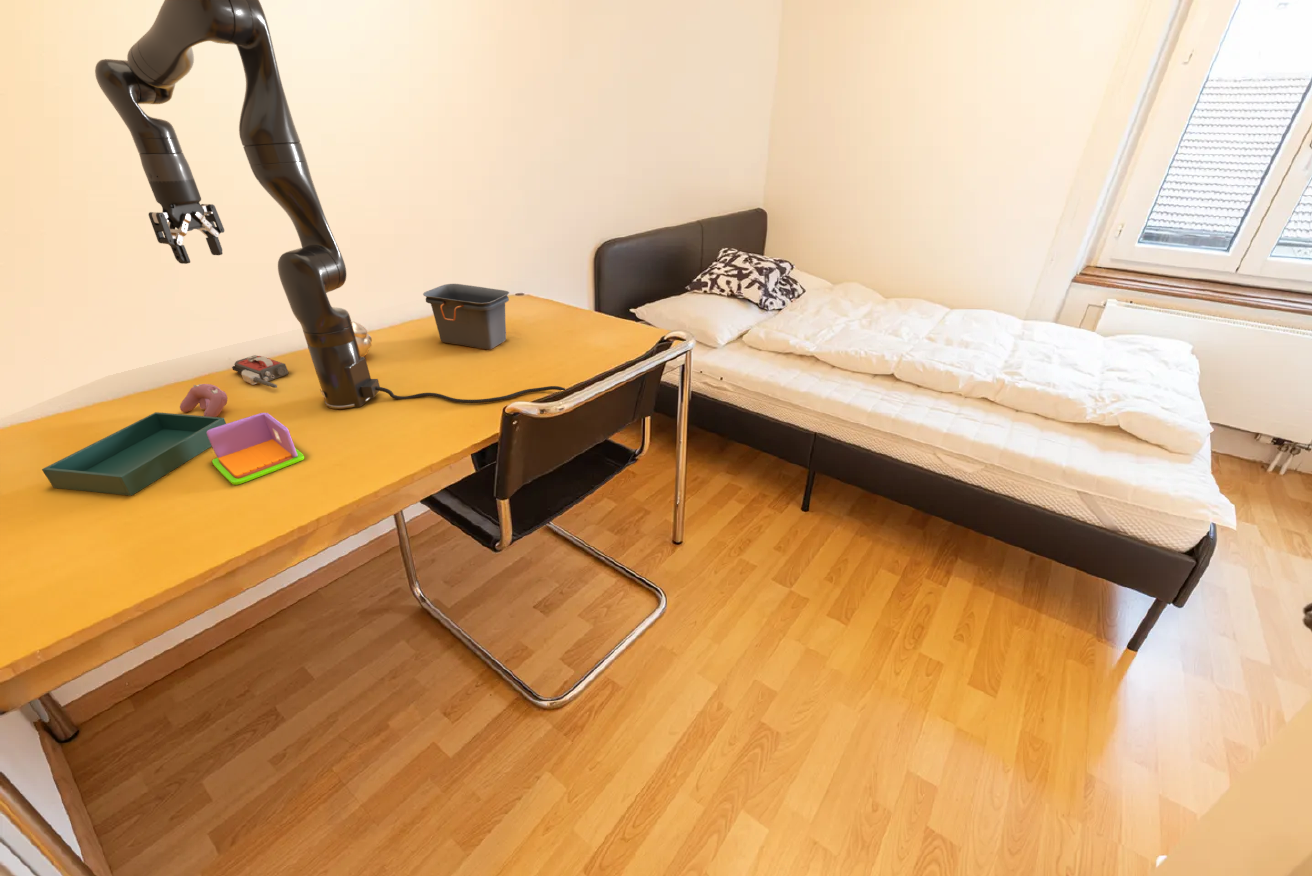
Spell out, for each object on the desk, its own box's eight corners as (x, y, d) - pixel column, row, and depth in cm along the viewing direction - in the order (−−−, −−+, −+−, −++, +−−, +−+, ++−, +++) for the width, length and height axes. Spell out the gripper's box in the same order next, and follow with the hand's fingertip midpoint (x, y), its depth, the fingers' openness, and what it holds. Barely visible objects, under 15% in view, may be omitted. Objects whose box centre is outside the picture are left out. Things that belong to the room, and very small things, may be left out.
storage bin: (519, 339, 162) (514, 289, 154) (489, 358, 149) (481, 305, 142) (457, 330, 167) (449, 282, 160) (423, 347, 155) (412, 296, 148)
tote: (231, 434, 112) (223, 417, 110) (131, 495, 94) (121, 477, 92) (163, 428, 114) (155, 412, 112) (53, 487, 96) (41, 469, 94)
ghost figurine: (358, 367, 142) (347, 329, 137) (328, 362, 145) (317, 325, 140) (383, 355, 150) (374, 319, 145) (355, 350, 152) (345, 314, 147)
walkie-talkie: (224, 375, 137) (273, 393, 129) (217, 359, 135) (266, 376, 126) (261, 364, 144) (309, 380, 135) (255, 347, 141) (303, 363, 133)
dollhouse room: (281, 438, 111) (269, 407, 108) (307, 459, 105) (295, 427, 101) (210, 462, 103) (195, 430, 100) (233, 487, 97) (219, 453, 93)
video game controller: (229, 421, 120) (233, 389, 119) (205, 421, 116) (209, 387, 115) (201, 412, 124) (205, 381, 123) (177, 411, 119) (181, 379, 119)
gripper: (155, 181, 108) (189, 267, 116) (215, 175, 120) (242, 252, 128) (121, 180, 109) (157, 265, 117) (184, 174, 121) (213, 251, 129)
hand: (201, 258), depth 122 cm, fingers open, 8 cm apart
